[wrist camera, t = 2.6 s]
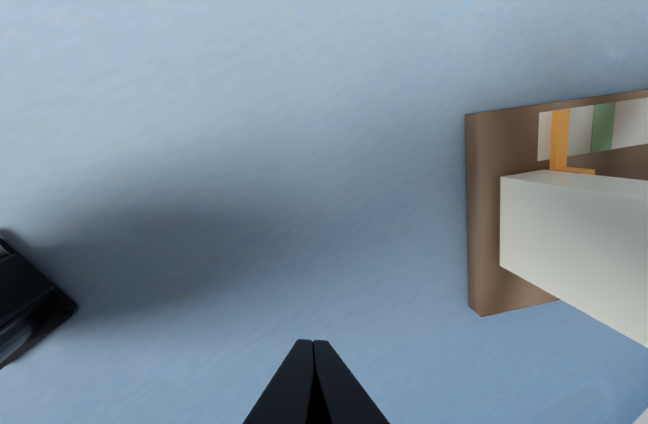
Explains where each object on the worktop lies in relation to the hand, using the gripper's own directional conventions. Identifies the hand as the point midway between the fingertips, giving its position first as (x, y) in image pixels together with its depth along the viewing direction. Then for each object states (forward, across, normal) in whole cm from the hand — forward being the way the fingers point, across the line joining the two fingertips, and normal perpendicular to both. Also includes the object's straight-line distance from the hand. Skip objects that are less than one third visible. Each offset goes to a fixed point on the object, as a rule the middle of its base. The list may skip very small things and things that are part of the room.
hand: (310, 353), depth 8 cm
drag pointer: (+11, -15, -6) cm, 20 cm away
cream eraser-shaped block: (+11, -16, -2) cm, 19 cm away
